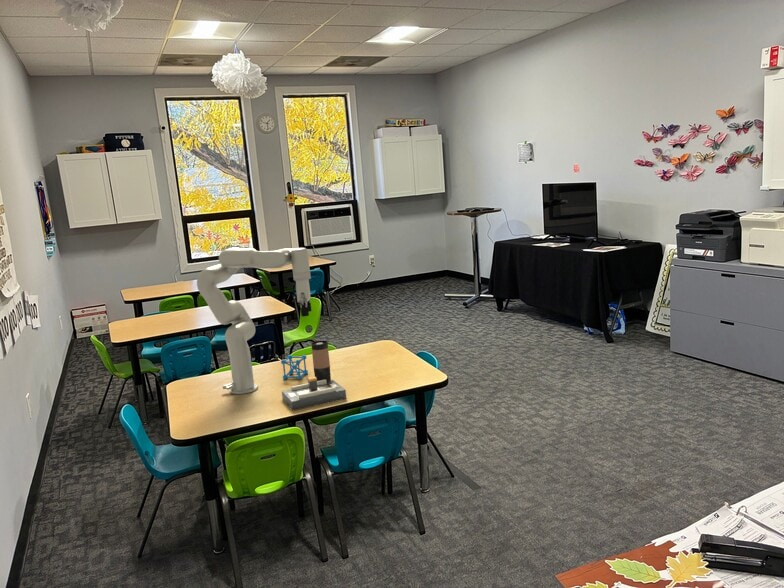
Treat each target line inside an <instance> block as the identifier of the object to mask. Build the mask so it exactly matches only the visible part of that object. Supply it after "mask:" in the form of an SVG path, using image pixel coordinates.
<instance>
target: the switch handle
mask: <svg viewBox="0 0 784 588" xmlns="http://www.w3.org/2000/svg"><path fill="white" fill-rule="evenodd" d="M307 381H308V382H307V383H308V385H309V390H310V391H315V390H318V389H317V378H316V377H315V375H313V376H307Z"/></svg>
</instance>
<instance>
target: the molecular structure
mask: <svg viewBox="0 0 784 588" xmlns="http://www.w3.org/2000/svg"><path fill="white" fill-rule="evenodd" d="M292 359H296V360H295V361H293V360H292ZM306 359H307V355H306V354H302V355H301V356H293V355H291V354H288V355H287V358H286V359H281V360H280V364H282V369H283V375H282V379H283V380H287V379H298V380H302V379H303V376H304V375H308V373H309V370H308V369H307V367H306V366H307V364H306ZM302 361H303V367H304V370H303V369H302V368H300V364H301V363H302ZM285 364H286V365H287V366H289V368H290V369H289V370H288V372H287V374H286V365H285ZM294 373H295V374H297V376H296V375H295V376H293V375H294ZM290 375H291V376H290Z"/></svg>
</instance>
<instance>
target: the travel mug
mask: <svg viewBox="0 0 784 588" xmlns="http://www.w3.org/2000/svg"><path fill="white" fill-rule="evenodd" d="M329 353H330V352H329V344H328V341H327V340H316V341H313V342H311V354H312V355H311V356H312V364H313V372H314V373H313V374H314V375H313V376H315V377H316V378H317V381H321V380H326V381H330V380H332V379H331V378H332V377H331V376H332V375H331V364H330V363H331V361H330V354H329Z"/></svg>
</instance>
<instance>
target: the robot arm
mask: <svg viewBox="0 0 784 588" xmlns="http://www.w3.org/2000/svg"><path fill="white" fill-rule="evenodd" d="M309 259H310V258H309V251H308V249H307V248H306V247H295V248H288V247H287V248H286V247H285V248H280V249H277V250H270V251H269V250H268V251H267V250H263V251H261V250H256V249H255V248H240V247H238V246H237V247H236V246H233V247H229V248H226V249H224V250H222V251H221V252H220V253H219V255H218V261H219V262H218V263H217V264H215V265H212V266H208V267H206V268H204V269H202V270H201V271H200V272H199V274H198V276H197V279H196V287H197V290H198V292H199V293H200V295H201V297H202V298H203V299H204V300H205V302H206V304H207V306H208V307H209V309H210V311H211V312H212V314H213V315H214V317H215V319H216V320H217V322H218V323H219V324H221V325H224V326H225V325H229V324H231V325H230V326H229V327H228V328H227V329H226V330H225V334H224V339H225V343H226V346H227V350H228V357H229V362H230V371H231V381H230V383H228V384H222V390H227V391H228V390H229V391H230V393H231V394H234V395H244V394H250V393H253V392H255V391H257V390H258V389H259V386H258V385H259V384H256V383H255V379H254V373H253V371H254V370H253V364H252V355H251V351H250V346H249V344H248V342H247V341H249V340H251V339H252V338H253V337H254V336H255V334H256V326H255V323H254V322H253V320H252V318H251V317H250V315H249V313H248V312H247V310H246V309H245V307H244V305H243V304H242V303H241V302H239V301H238V300H233V299H232V300H228V299H227V297H226V296H225V293H224V292H223V291H222V290H221V289H220V288H218V286H217V285H219V284H221V283H224V282H226V281H228V280H229V279H230V278H231V277H232V276H233V275H234V274H235V273H236V272H237V271H238V270H239V268H242V269H243V268H254V269H280V268H284V267H286V266H288V265H291V268H292V275H293V277H292V278H293V281H294V282H295V288H296V291H295V293H296V301H297V303H300V305H299V306H300V313H301V314H300V316H301V317H309V316H310V314H309V312H312V305H311V304H312V303H311V289H310V281H309V280H310V279H312V278H311V269H310V261H309Z"/></svg>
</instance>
